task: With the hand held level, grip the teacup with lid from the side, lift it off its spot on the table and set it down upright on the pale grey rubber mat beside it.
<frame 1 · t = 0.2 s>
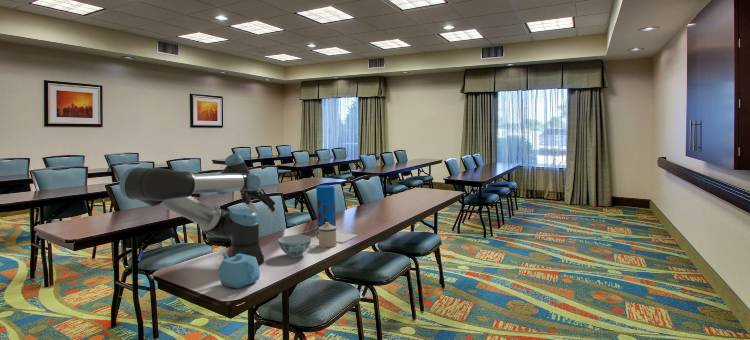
hand: (264, 213, 211), 16 cm above the table, tool tilted 35°, fingers open, 13 cm apart
thermos: (326, 228, 245), on the table
chinaware: (295, 255, 192), on the table
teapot: (238, 283, 157), on the table
teacup with lid: (325, 245, 208), on the table
mat: (339, 238, 221), on the table
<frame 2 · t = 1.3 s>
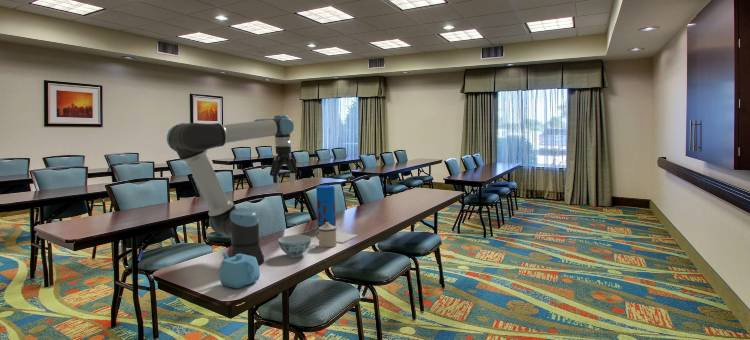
hand: (285, 187, 212), 29 cm above the table, tool pointing down, fingers open, 13 cm apart
nothing on the table moved.
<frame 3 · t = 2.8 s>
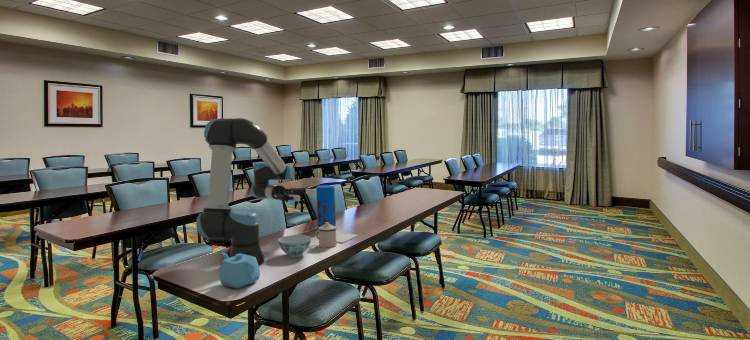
hand: (308, 195, 208), 25 cm above the table, tool horizontal, fingers open, 13 cm apart
nothing on the table moved.
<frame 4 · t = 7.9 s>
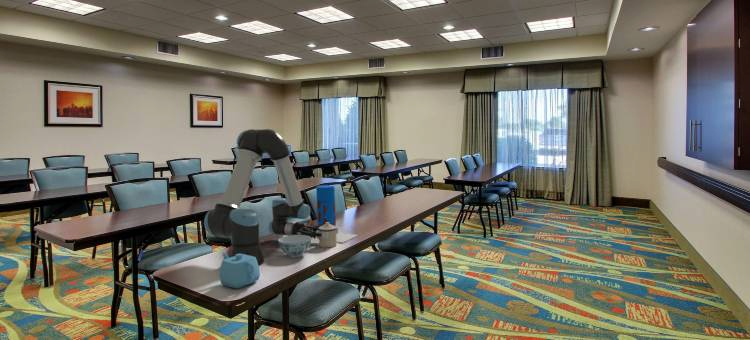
hand: (332, 233, 205), 7 cm above the table, tool horizontal, fingers closed on teacup with lid, 9 cm apart
teacup with lid: (325, 245, 208), on the table, touching gripper
everything else where it was.
when the fingers open (9 cm above the table, at t = 13.3 s): teacup with lid moves 3 cm, resting on mat.
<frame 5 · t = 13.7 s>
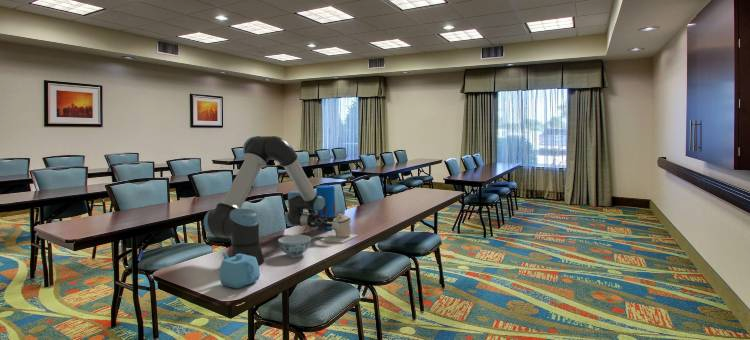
hand: (344, 222, 219), 9 cm above the table, tool horizontal, fingers open, 13 cm apart
teacup with lid: (341, 234, 224), point 1 cm above the table, touching gripper, mat
everything else where it was.
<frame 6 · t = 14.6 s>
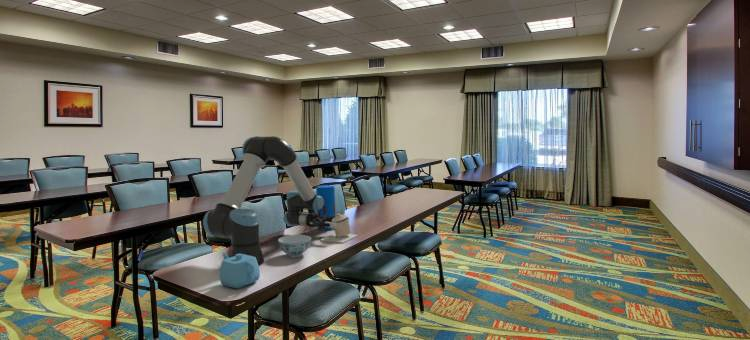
hand: (342, 222, 219), 9 cm above the table, tool horizontal, fingers open, 13 cm apart
teacup with lid: (341, 234, 224), point 1 cm above the table, touching mat
everything else where it was.
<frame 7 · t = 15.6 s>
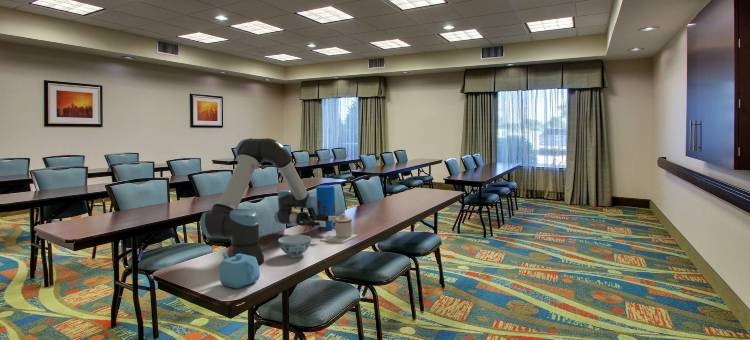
hand: (332, 221, 222), 9 cm above the table, tool horizontal, fingers open, 13 cm apart
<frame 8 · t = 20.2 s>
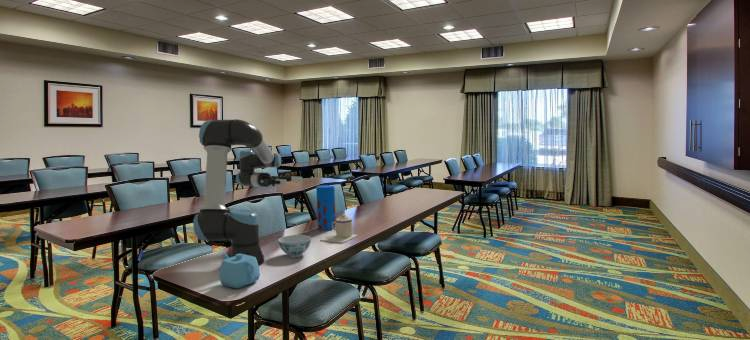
hand: (294, 180, 213), 32 cm above the table, tool horizontal, fingers open, 13 cm apart
at the end: teacup with lid inside the target area on the mat (3.7 cm from its centre), point 0.4 cm above the mat's base; teacup with lid tilted 0°; the gripper is holding nothing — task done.
